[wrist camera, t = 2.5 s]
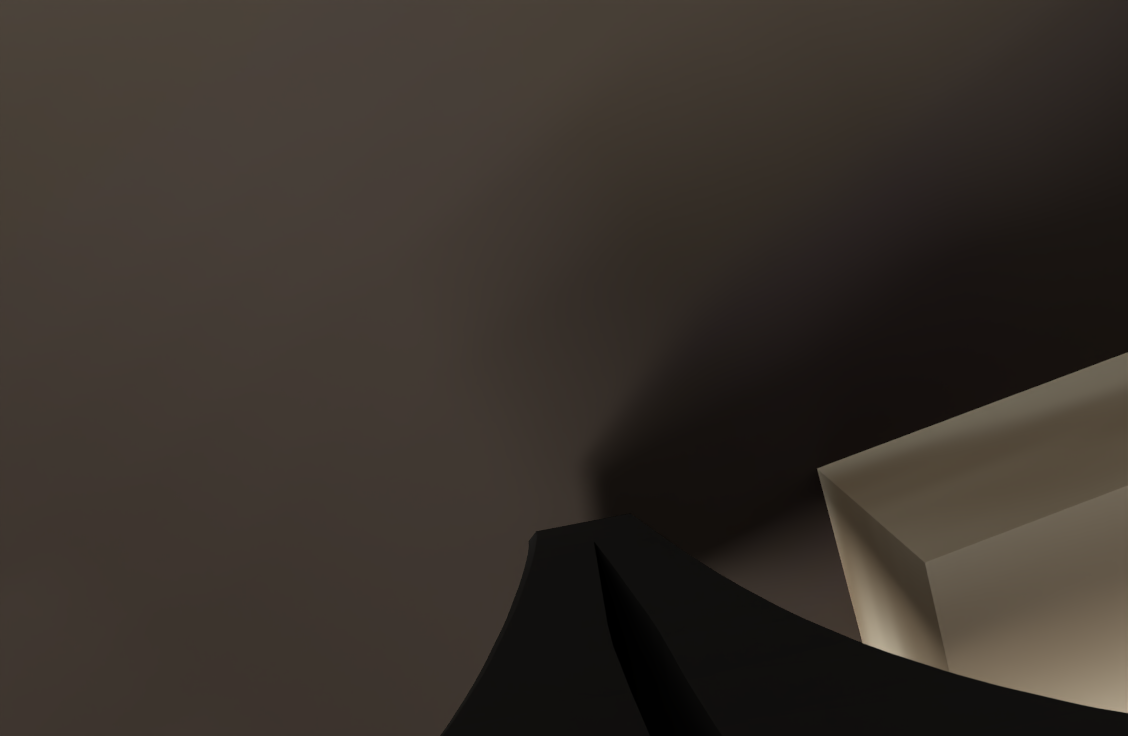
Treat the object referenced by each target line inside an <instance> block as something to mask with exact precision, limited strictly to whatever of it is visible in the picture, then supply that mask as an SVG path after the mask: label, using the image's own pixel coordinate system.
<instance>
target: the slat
mask: <svg viewBox="0 0 1128 736" xmlns="http://www.w3.org/2000/svg"><path fill="white" fill-rule="evenodd" d="M817 471H818V474H819V478H820V482H821V486H822V490H823V493H824V497H825V501H826V505H827V509H828V513H829V516H830V520H831V524H832V528H833V532H834V535H835V539H836V543H837V547H838V551H839V555H840V558H841V562H842V566H843V570H844V574H845V577H846V581H847V585H848V589H849V593H850V596H851V600H852V604H853V608H854V612H855V616H856V619H857V623H858V627H859V631H860V635H861V638H862V642H863V643H864V644H867V645H869V646H872V647H875V648H877V649H880V650H883V651H886V652H888V653H892V654H895V655H898V656H901V657H904V658H907V659H910V660H913V661H916V662H920V663H923V664H926V665H929V666H932V667H935V668H938V669H941V670H944V671H948V672H951V673H954V674H958V675H961V676H965V677H969V678H973V679H976V680H980V681H984V682H987V683H991V684H995V685H998V686H1002V687H1006V688H1011V689H1015V690H1019V691H1024V692H1028V693H1032V694H1037V695H1041V696H1045V697H1050V698H1054V699H1058V700H1062V701H1067V702H1071V703H1075V704H1080V705H1085V706H1090V707H1095V708H1100V709H1106V710H1112V711H1118V712H1124V713H1128V352H1127V353H1124V354H1122V355H1119V356H1116V357H1114V358H1111V359H1108V360H1106V361H1103V362H1100V363H1098V364H1095V365H1092V366H1090V367H1087V368H1084V369H1082V370H1079V371H1076V372H1074V373H1071V374H1068V375H1066V376H1063V377H1060V378H1058V379H1055V380H1052V381H1050V382H1047V383H1044V384H1041V385H1039V386H1036V387H1033V388H1031V389H1028V390H1025V391H1023V392H1020V393H1017V394H1015V395H1012V396H1009V397H1007V398H1004V399H1001V400H999V401H996V402H993V403H991V404H988V405H985V406H983V407H980V408H977V409H975V410H972V411H969V412H967V413H964V414H961V415H959V416H956V417H953V418H951V419H948V420H945V421H943V422H940V423H937V424H935V425H932V426H929V427H926V428H924V429H921V430H918V431H916V432H913V433H910V434H908V435H905V436H902V437H900V438H897V439H894V440H892V441H889V442H886V443H884V444H881V445H878V446H876V447H873V448H870V449H868V450H865V451H862V452H860V453H857V454H854V455H852V456H849V457H846V458H844V459H841V460H838V461H836V462H833V463H830V464H828V465H825V466H822V467H820V468H817Z"/></svg>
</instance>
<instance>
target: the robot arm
mask: <svg viewBox="0 0 1128 736" xmlns="http://www.w3.org/2000/svg"><path fill="white" fill-rule="evenodd" d="M440 736H1128V713H1124V712H1118V711H1112V710H1106V709H1100V708H1095V707H1090V706H1085V705H1080V704H1075V703H1071V702H1067V701H1062V700H1058V699H1054V698H1050V697H1045V696H1041V695H1037V694H1032V693H1028V692H1024V691H1019V690H1015V689H1011V688H1006V687H1002V686H998V685H995V684H991V683H987V682H984V681H980V680H976V679H973V678H969V677H965V676H961V675H958V674H954V673H951V672H948V671H944V670H941V669H938V668H935V667H932V666H929V665H926V664H923V663H920V662H916V661H913V660H910V659H907V658H904V657H901V656H898V655H895V654H892V653H888V652H886V651H883V650H880V649H877V648H875V647H872V646H869V645H867V644H864V643H861V642H858V641H856V640H853V639H851V638H849V637H846V636H844V635H841V634H839V633H837V632H834V631H832V630H830V629H827V628H825V627H822V626H820V625H818V624H815V623H813V622H811V621H808V620H806V619H804V618H801V617H799V616H797V615H795V614H793V613H791V612H789V611H787V610H785V609H783V608H781V607H779V606H777V605H775V604H773V603H771V602H769V601H767V600H765V599H763V598H762V597H760V596H758V595H756V594H754V593H752V592H750V591H749V590H747V589H745V588H743V587H741V586H739V585H738V584H736V583H734V582H732V581H731V580H729V579H727V578H726V577H724V576H722V575H720V574H719V573H717V572H716V571H714V570H712V569H711V568H709V567H707V566H706V565H704V564H703V563H701V562H700V561H698V560H696V559H695V558H693V557H692V556H690V555H689V554H687V553H686V552H684V551H683V550H681V549H680V548H678V547H677V546H675V545H674V544H673V543H671V542H670V541H668V540H667V539H665V538H664V537H663V536H661V535H660V534H658V533H657V532H656V531H654V530H653V529H651V528H650V527H649V526H647V525H646V524H644V523H643V522H642V521H640V520H639V519H637V518H636V517H634V516H633V515H631V514H625V515H620V516H615V517H610V518H604V519H599V520H594V521H589V522H583V523H578V524H573V525H568V526H562V527H557V528H552V529H546V530H541V531H536V532H535V534H534V535H533V536H532V538H531V539H530V540H529V550H528V556H527V561H526V565H525V569H524V572H523V575H522V579H521V582H520V585H519V588H518V590H517V593H516V596H515V598H514V601H513V603H512V606H511V609H510V611H509V614H508V617H507V619H506V621H505V624H504V626H503V628H502V630H501V632H500V634H499V636H498V638H497V640H496V642H495V644H494V646H493V648H492V650H491V652H490V654H489V656H488V659H487V661H486V663H485V665H484V667H483V668H482V670H481V672H480V674H479V676H478V677H477V679H476V681H475V683H474V684H473V686H472V688H471V690H470V691H469V693H468V694H467V696H466V698H465V699H464V701H463V703H462V704H461V706H460V707H459V709H458V710H457V712H456V713H455V715H454V716H453V718H452V720H451V721H450V723H449V724H448V726H447V727H446V729H445V730H444V731H443V733H442V734H441V735H440Z"/></svg>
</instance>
